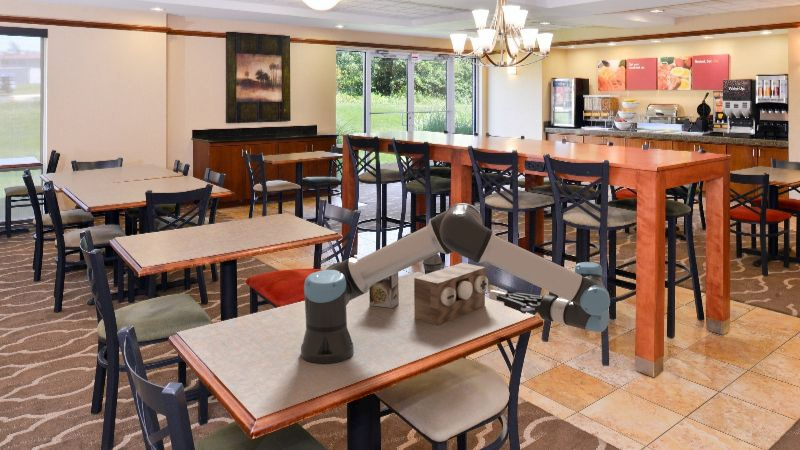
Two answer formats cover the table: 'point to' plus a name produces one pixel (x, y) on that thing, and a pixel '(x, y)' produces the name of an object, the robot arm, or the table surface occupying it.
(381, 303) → the coffee box
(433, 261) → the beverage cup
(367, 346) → the table surface
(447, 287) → the walnut console
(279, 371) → the table surface
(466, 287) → the plain button
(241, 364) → the table surface
